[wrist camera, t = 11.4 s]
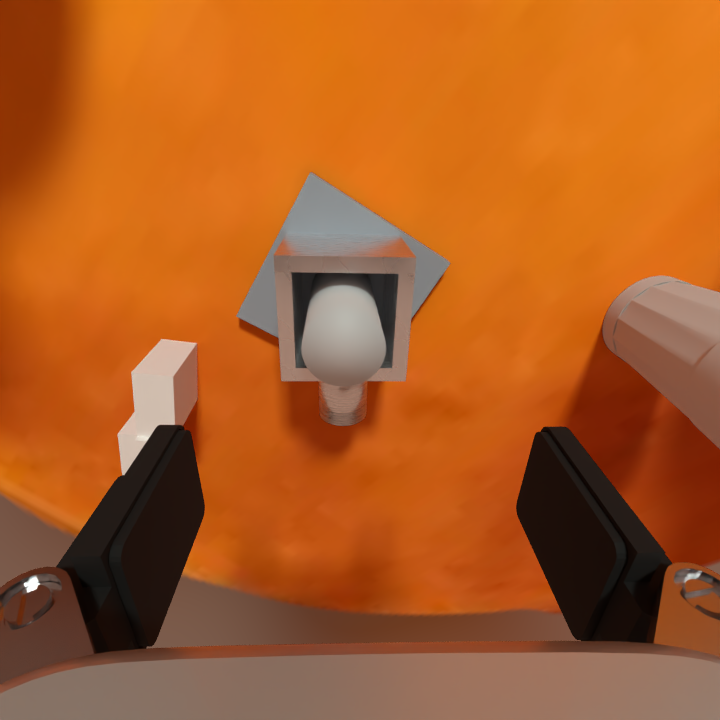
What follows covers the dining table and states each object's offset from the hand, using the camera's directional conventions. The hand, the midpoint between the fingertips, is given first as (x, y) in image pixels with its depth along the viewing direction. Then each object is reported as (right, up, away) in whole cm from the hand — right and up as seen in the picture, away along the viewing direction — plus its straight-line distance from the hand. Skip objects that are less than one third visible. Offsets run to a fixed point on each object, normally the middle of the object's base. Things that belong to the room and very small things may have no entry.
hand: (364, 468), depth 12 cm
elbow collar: (-1, +6, +16) cm, 17 cm away
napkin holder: (-13, 0, +20) cm, 25 cm away
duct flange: (-1, +8, +16) cm, 18 cm away
